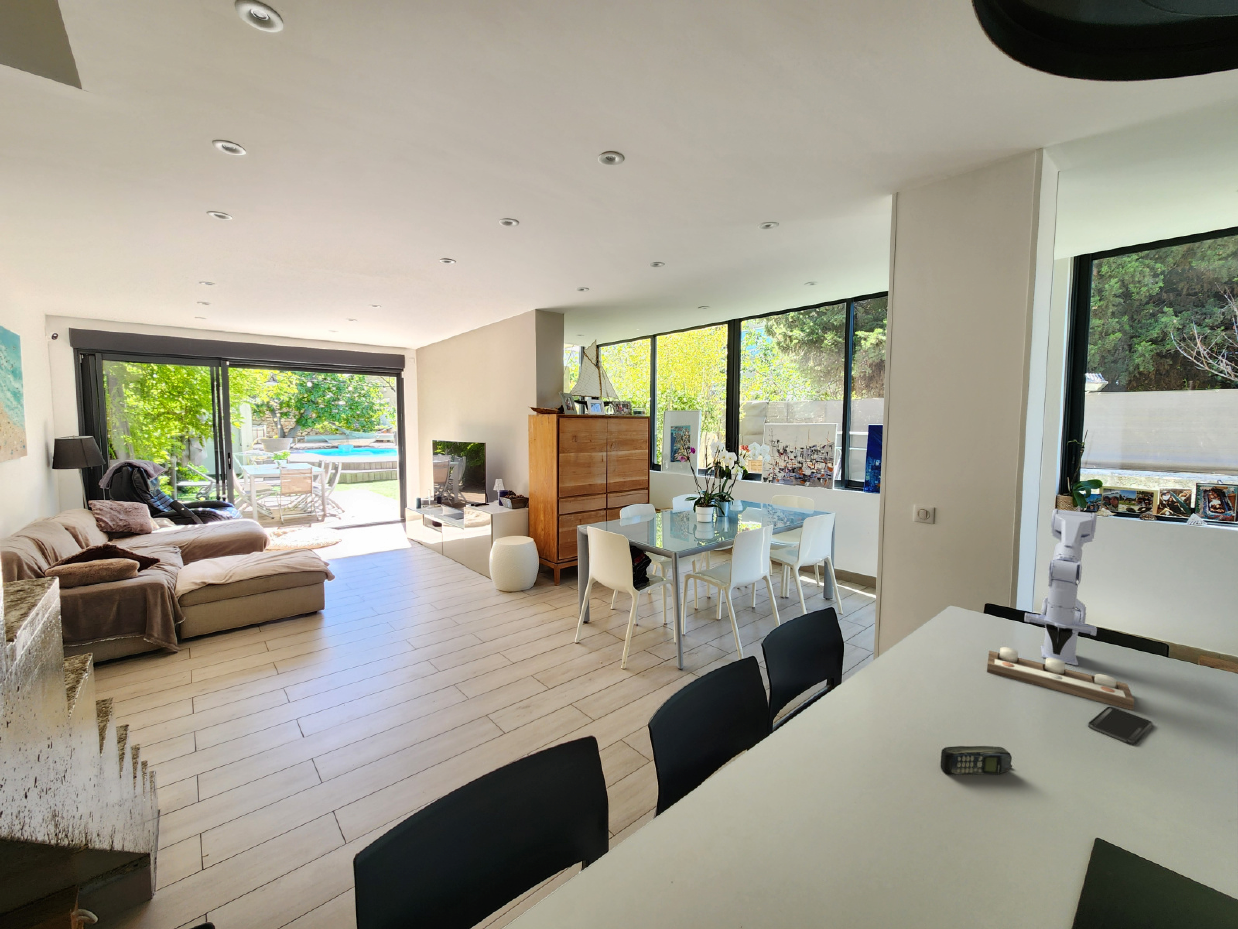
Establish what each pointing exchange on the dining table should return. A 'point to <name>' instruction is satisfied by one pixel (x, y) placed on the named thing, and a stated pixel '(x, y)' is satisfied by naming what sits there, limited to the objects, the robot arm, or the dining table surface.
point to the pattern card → (1060, 678)
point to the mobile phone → (975, 760)
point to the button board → (1061, 686)
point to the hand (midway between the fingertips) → (1056, 653)
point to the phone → (1120, 725)
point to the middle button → (1055, 665)
